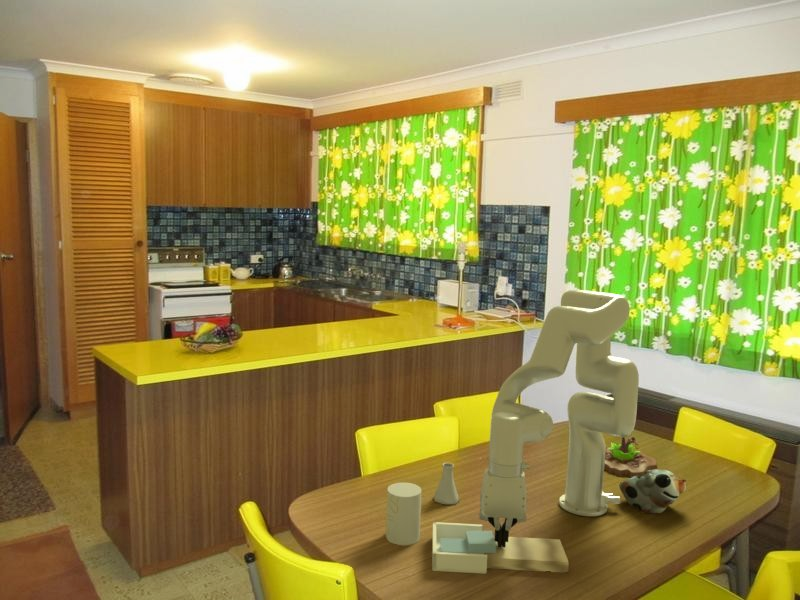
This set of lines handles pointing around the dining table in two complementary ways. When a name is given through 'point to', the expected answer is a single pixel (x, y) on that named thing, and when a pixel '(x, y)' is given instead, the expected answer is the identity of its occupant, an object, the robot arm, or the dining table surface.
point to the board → (529, 555)
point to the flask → (446, 487)
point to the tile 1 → (453, 545)
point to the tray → (456, 560)
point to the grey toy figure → (652, 490)
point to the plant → (627, 459)
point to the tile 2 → (480, 542)
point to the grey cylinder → (403, 513)
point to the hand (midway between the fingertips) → (501, 544)
